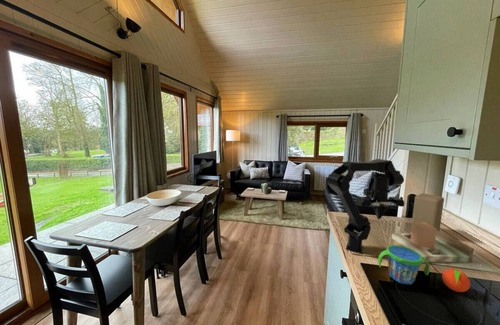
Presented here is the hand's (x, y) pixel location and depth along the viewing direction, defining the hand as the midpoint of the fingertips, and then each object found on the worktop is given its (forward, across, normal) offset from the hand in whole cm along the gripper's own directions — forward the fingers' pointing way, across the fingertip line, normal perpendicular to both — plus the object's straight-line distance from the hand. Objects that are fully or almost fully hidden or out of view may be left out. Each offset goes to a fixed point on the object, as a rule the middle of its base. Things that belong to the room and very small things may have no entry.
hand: (378, 218), depth 100 cm
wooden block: (+14, -33, -15) cm, 39 cm away
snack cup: (+13, +4, +24) cm, 28 cm away
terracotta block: (+11, -19, +3) cm, 22 cm away
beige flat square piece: (+13, -22, +3) cm, 26 cm away
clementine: (+13, -11, +29) cm, 34 cm away
